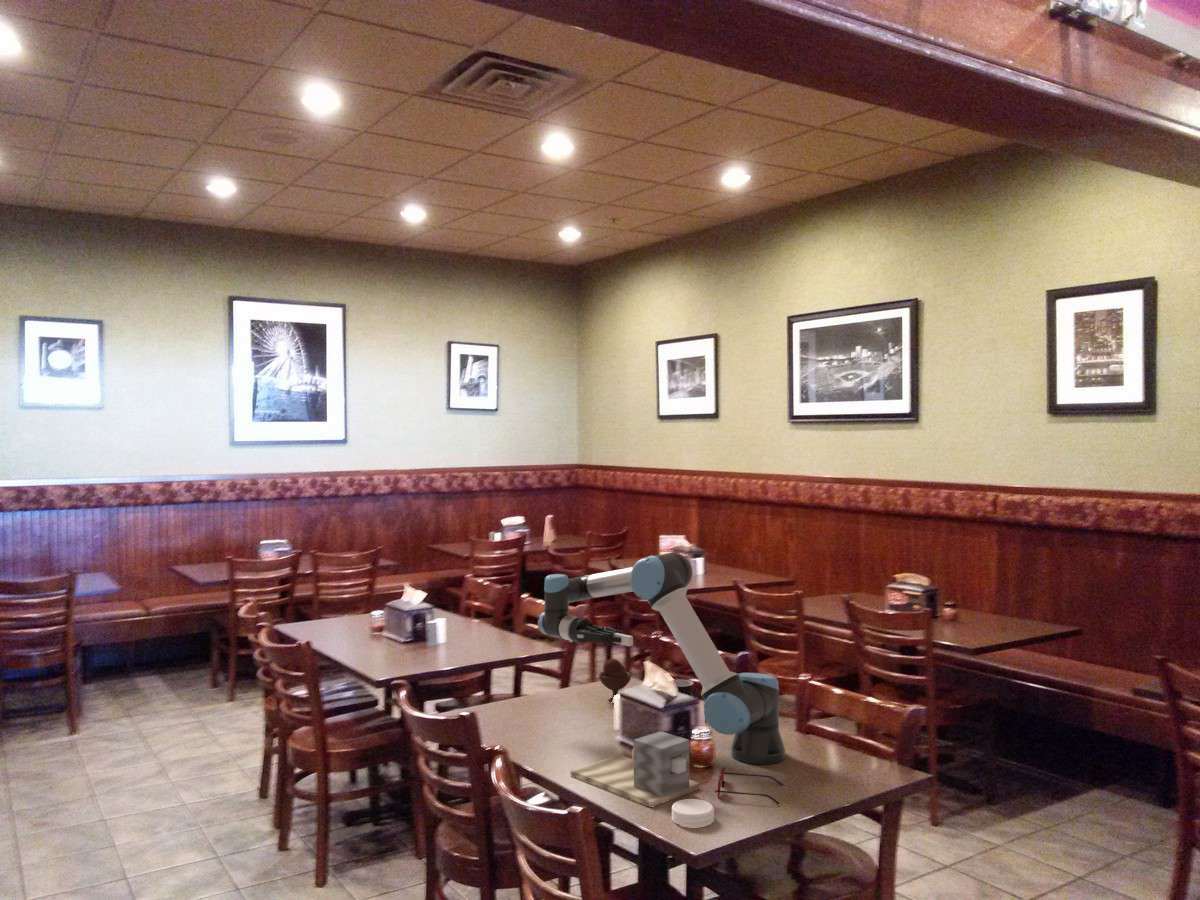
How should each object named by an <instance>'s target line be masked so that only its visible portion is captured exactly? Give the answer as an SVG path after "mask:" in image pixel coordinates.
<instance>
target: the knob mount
mask: <svg viewBox="0 0 1200 900" xmlns="http://www.w3.org/2000/svg"><path fill="white" fill-rule="evenodd" d="M633 748H634V762H633V759H632V758H630V757H627V756H624V755H622V754H615V755H613V756H611V757H607V758H604V759H601V760H597V761H594V762H592V763H589V764H586V765H583V766H580V767H575V768H574V769H570V776H571V775H572V776H574V777H573V778H575V777H577V778H579V779H578V780H580V779H581V780H580V781H582V780H583V782H585V781H587V782H590V783H591V784H590V783H589V784H590V785H592V784H594V785H593V786H595V785H597V786H599V787H598V788H600V787H602V788H604V789H603V790H605V789H607V790H609V791H608V792H610V791H612V792H614V793H613V794H615V793H616V794H615V795H617V794H619V795H618V796H620V795H621V796H620V797H622V796H624V797H623V798H625V797H627V798H629V799H628V800H630V799H632V800H635V801H638V802H640V803H643V804H645V805H647V806H650V807H652V806H655V805H657V804H660V803H662V802H664V801H667V800H670V799H673V798H675V799H677V798H676V797H678V798H680V797H683V796H685V794H686V795H688V794H691V793H693V792H695V790H696V791H698V790H700V789H701V783H700V782H698V781H696V780H693V779H690V740H689V739H687V738H684V737H681V736H678V735H674V734H673V733H672V734H670V733H667V732H665V731H662V730H661V731H660V730H659V731H657V732H653V733H649V734H647V735H643V736H641V737H637V738H635V739H633ZM676 756H678V757H682V758H685V759H686V771H685V772H682V773H679V774H677V773H674V772H671V763H670V758H673V757H676ZM572 776H571V777H572ZM577 778H576V779H577ZM587 782H586V783H587ZM597 786H596V787H597ZM602 788H601V789H602ZM607 790H606V791H607ZM692 791H693V792H692ZM612 792H611V793H612ZM690 792H691V793H690ZM687 793H688V794H687ZM682 795H683V796H682ZM679 796H680V797H679ZM627 798H626V799H627ZM632 800H631V801H632ZM673 800H674V799H673ZM635 801H634V802H635ZM670 801H671V800H670ZM640 803H639V804H640ZM645 805H644V806H645ZM660 805H661V804H660ZM647 806H646V807H647ZM650 807H649V808H650ZM655 807H656V806H655Z"/></svg>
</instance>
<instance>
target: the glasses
mask: <svg viewBox="0 0 1200 900" xmlns="http://www.w3.org/2000/svg"><path fill="white" fill-rule="evenodd" d="M725 769H726V768H725V766H723V767H722V768H721V769H720V770H719V771H720V772H719V773H720V775H718V778H719V779H718V780H717V789H715V790H714V794H715V793H716V794H717V798H718V799H720V796H719V795H720V793H722V794H723V793H724V794H734V795H735V794H736V795H748V796H749V795H750V796H760V797H761V796H763V797H765V798H766V797H767V798H769V799H770V800H771V801H773V802H774V803H775V804H776V805H778V804H781V803H780V802H779V801H777V800H776V799H775V798H774V797H772V796H771V795H768V794H764V793H750V792H742V791H741V792H740V791H729V790H727V791H726V790H721V788H722V789H723V788H725V783H726V781H725V780H724V779H725V775H734V776H746V777H747V776H748V777H759V778H760V777H761V778H768V779H772V780H773V781H774V782H776V783H777V784H779V786H784V784H783V783H782V782H780V781H779V780H777V778H775V777H772V776H771V775H770V776H769V775H763V774H750V773H749V774H748V773H738V772H736V773H735V772H726V771H725Z"/></svg>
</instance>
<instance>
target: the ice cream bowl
mask: <svg viewBox="0 0 1200 900" xmlns="http://www.w3.org/2000/svg"><path fill="white" fill-rule="evenodd" d="M598 676H599V680H600V682H601V684H602V685H603V686H604V687H605V688H607V689H609V690H610V691H611V692H612V696H611V697H610V698H609V699H608V700H607V701H609V702H610V703H611V702H612V700H613V697H614V695H616V694H617V693H619V691H620V690H622V689H623V688H625V687H626V686H627V685H628V684H629V683H630V681H631V678H632V674H631V673H630V672H629V671H626V668H625V666H624V665H623V664H622V663H621V662H620V661H619V660H618V659H616V658H610V659H607V660H606V661H605V662H604V664H603V669H602V672H601V673H599V674H598ZM610 703H609V704H610Z"/></svg>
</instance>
